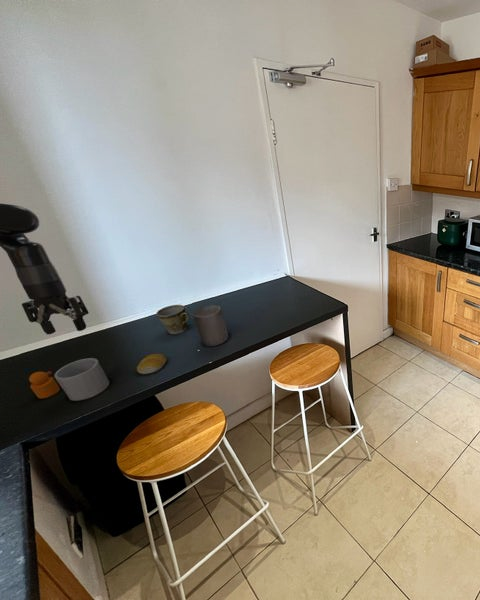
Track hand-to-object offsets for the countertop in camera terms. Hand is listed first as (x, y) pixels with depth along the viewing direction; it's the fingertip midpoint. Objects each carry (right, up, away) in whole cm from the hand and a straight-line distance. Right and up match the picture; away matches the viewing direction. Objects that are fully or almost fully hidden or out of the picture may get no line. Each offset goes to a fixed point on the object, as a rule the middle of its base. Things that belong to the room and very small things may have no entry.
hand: (67, 331), depth 94 cm
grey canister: (+24, -7, +36) cm, 44 cm away
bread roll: (+10, -15, +21) cm, 27 cm away
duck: (-16, -21, +9) cm, 28 cm away
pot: (-3, -20, +10) cm, 23 cm away
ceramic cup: (+5, -4, +43) cm, 43 cm away
